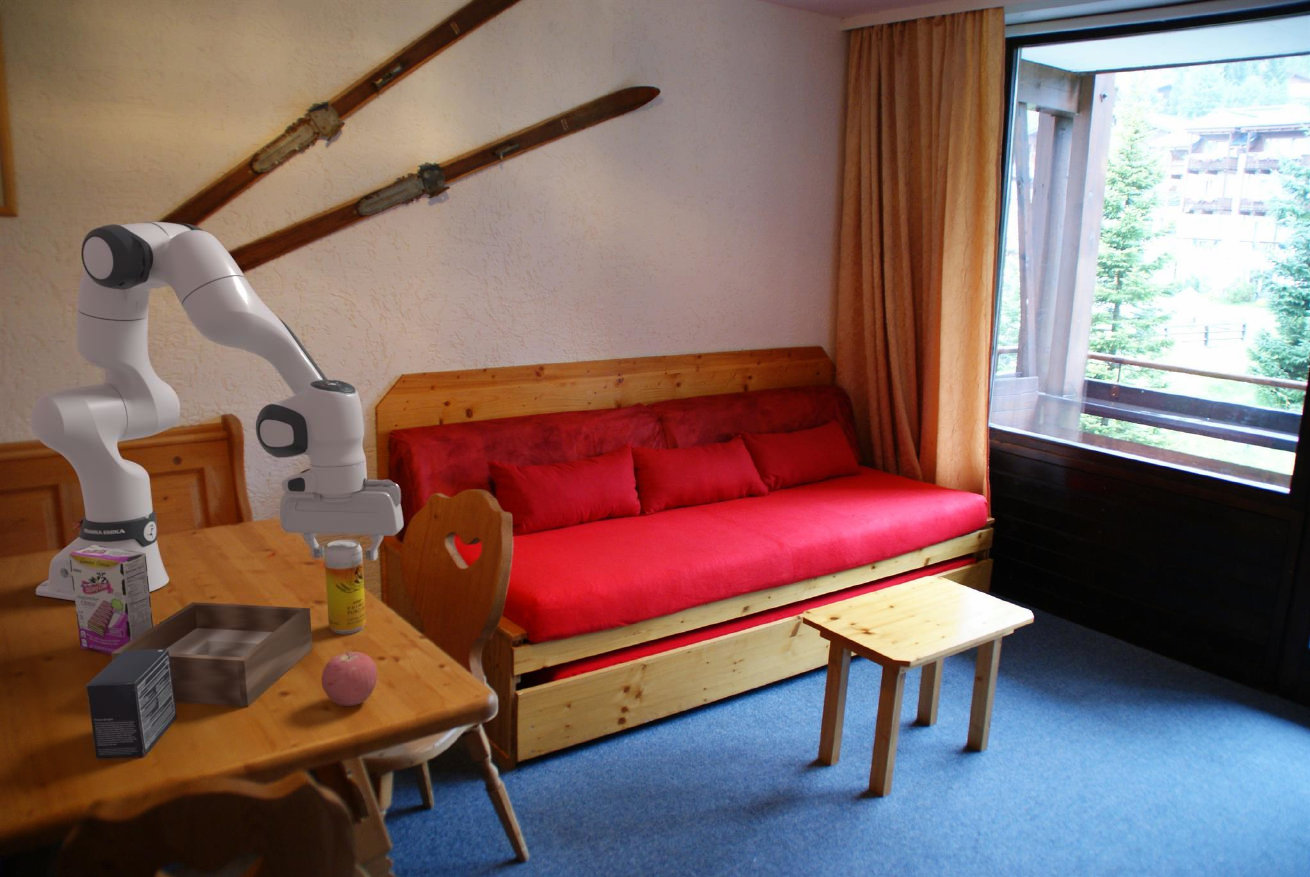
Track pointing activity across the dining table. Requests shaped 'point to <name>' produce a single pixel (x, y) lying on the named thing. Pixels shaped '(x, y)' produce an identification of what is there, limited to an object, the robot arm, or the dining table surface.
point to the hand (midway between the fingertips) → (344, 558)
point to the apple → (349, 678)
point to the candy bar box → (110, 596)
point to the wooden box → (228, 649)
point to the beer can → (345, 586)
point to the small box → (131, 703)
